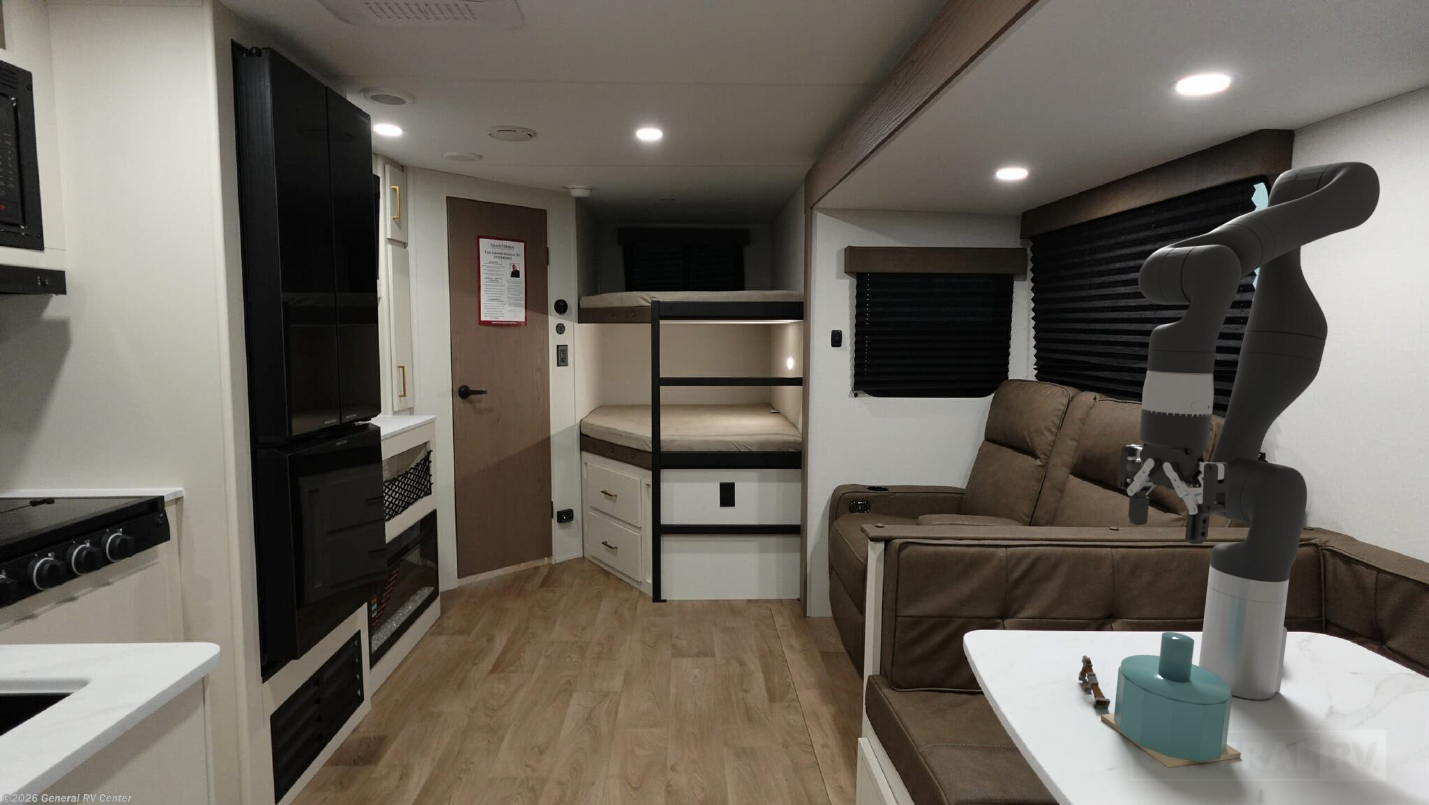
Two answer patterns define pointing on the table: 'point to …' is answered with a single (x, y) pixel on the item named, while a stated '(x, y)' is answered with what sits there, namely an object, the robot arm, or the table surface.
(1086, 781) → the table surface
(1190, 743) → the teal lid with knob
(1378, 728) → the table surface
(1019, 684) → the table surface
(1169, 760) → the board
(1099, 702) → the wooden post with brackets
